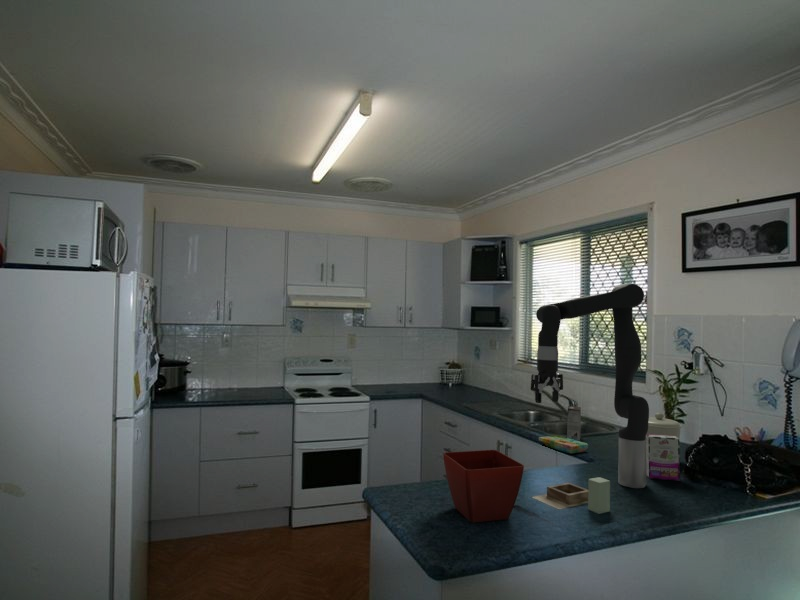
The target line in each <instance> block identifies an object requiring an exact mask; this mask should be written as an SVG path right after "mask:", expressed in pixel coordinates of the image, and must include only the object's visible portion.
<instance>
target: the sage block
mask: <svg viewBox="0 0 800 600" xmlns="http://www.w3.org/2000/svg"><path fill="white" fill-rule="evenodd" d="M587 482H588V483H587V485H588V489H587V490H588V503H587V510H588V511H591V512H593V513H595V514H598V515H599V514H604V513H608V512H610V511H611V481H610V480H608V479H606V478H603V477H601V476H599V477H593V478H588V481H587Z"/></svg>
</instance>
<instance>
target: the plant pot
mask: <svg viewBox="0 0 800 600" xmlns="http://www.w3.org/2000/svg"><path fill="white" fill-rule="evenodd" d="M442 458H443V464H444V469H445V470H444V471H445V475H446V480H447V483H448V484H447V485H448V487H449V492H450V495H451V498H452V502H453V505H454V508H455V509H456V510H457V511H458V512H459V513H460V514H461V515H462V516H463V517H464V518H465V519H466V520H467V521H469V522H470V523H472V524H473V523H474V524H475V523H484V522H485V523H486V522H493V521H502V520H508V519H510V517H511V514H512V513H513V509H514V506H515V503H516V501H517V498H518V496H519V492H520V489H521V484H522V481H523V480H522V479H523V474H524V469H525V466H524V464H522V463H521V462H519V461H517V460H515V459H514V458H512V457H509V456H508V455H506V454H504V453H502V452H501V451H499V450H497V449H483V450H482V449H480V450H467V451H466V450H465V451H449V452H447V451H446V452H443V453H442Z"/></svg>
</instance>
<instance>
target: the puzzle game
mask: <svg viewBox="0 0 800 600" xmlns="http://www.w3.org/2000/svg"><path fill="white" fill-rule="evenodd" d="M538 441H539V442H542V443H544V445H545V447H548V448H550V449H554V450H557V451H560V452H564V453H567V454H576V453H577V454H578V453H584V452H586V450H587V449H588V448H589V444H588V443H587V442H583V441H581V440H580V441H576V440H574V439H568V438H567V437H564V436H560V435H556V434H555V435H547V436H540V437H538Z"/></svg>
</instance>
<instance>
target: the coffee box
mask: <svg viewBox="0 0 800 600" xmlns="http://www.w3.org/2000/svg"><path fill="white" fill-rule="evenodd" d="M581 411H582V408H581V407H580V406H572V405H568V407H567V426H566V427H567V430H566V431H567V433H566V436H567V437H566V438H568V439H574V440H576V441H580V442H581V428H582V424H581V423H582V421H581V419H582V418H581V417H582V416H581V415H582V414H581Z"/></svg>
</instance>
